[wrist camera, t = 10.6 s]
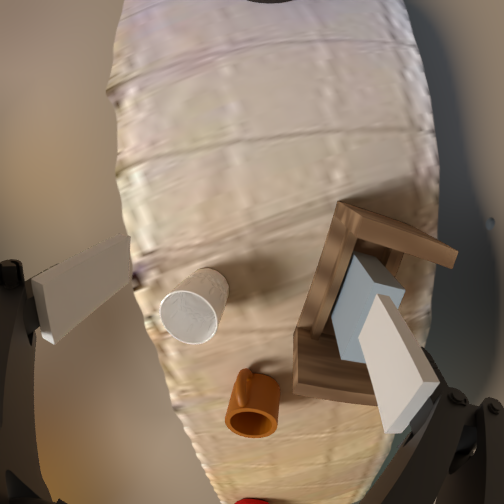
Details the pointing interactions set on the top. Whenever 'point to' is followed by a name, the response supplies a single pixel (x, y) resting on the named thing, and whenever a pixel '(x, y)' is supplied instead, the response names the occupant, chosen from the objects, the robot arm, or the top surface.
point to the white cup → (195, 306)
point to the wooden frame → (326, 289)
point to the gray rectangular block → (360, 301)
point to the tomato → (251, 501)
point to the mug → (253, 405)
